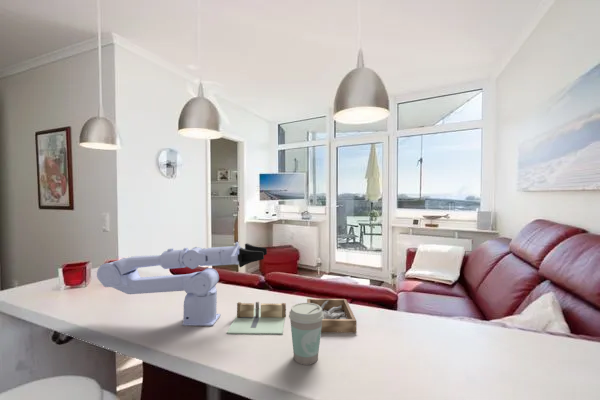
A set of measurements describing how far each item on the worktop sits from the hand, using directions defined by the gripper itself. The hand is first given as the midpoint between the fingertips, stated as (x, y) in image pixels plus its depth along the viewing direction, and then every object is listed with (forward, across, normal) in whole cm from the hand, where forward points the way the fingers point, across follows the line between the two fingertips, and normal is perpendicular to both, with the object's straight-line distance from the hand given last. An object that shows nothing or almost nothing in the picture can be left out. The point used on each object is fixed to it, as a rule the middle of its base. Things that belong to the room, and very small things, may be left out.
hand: (265, 253), depth 85 cm
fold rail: (+1, +2, +21) cm, 21 cm away
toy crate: (+19, +2, +23) cm, 30 cm away
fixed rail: (-7, +2, +21) cm, 22 cm away
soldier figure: (+19, +2, +23) cm, 30 cm away
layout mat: (-3, 0, +21) cm, 22 cm away
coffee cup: (+11, -20, +23) cm, 32 cm away
